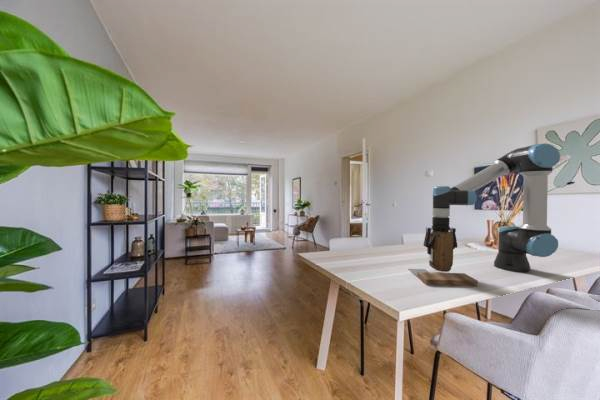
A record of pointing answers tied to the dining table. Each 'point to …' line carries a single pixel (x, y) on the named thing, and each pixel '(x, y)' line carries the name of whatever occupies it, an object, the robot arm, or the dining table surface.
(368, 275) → the dining table surface
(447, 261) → the block
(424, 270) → the end pad
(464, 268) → the dining table surface
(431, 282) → the board
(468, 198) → the robot arm
